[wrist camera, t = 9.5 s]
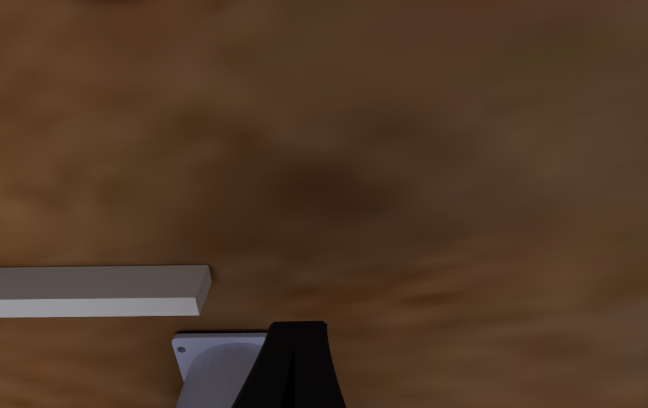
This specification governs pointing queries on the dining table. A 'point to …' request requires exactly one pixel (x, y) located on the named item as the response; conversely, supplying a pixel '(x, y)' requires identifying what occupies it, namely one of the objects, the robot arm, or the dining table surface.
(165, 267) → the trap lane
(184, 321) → the dining table surface
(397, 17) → the dining table surface
